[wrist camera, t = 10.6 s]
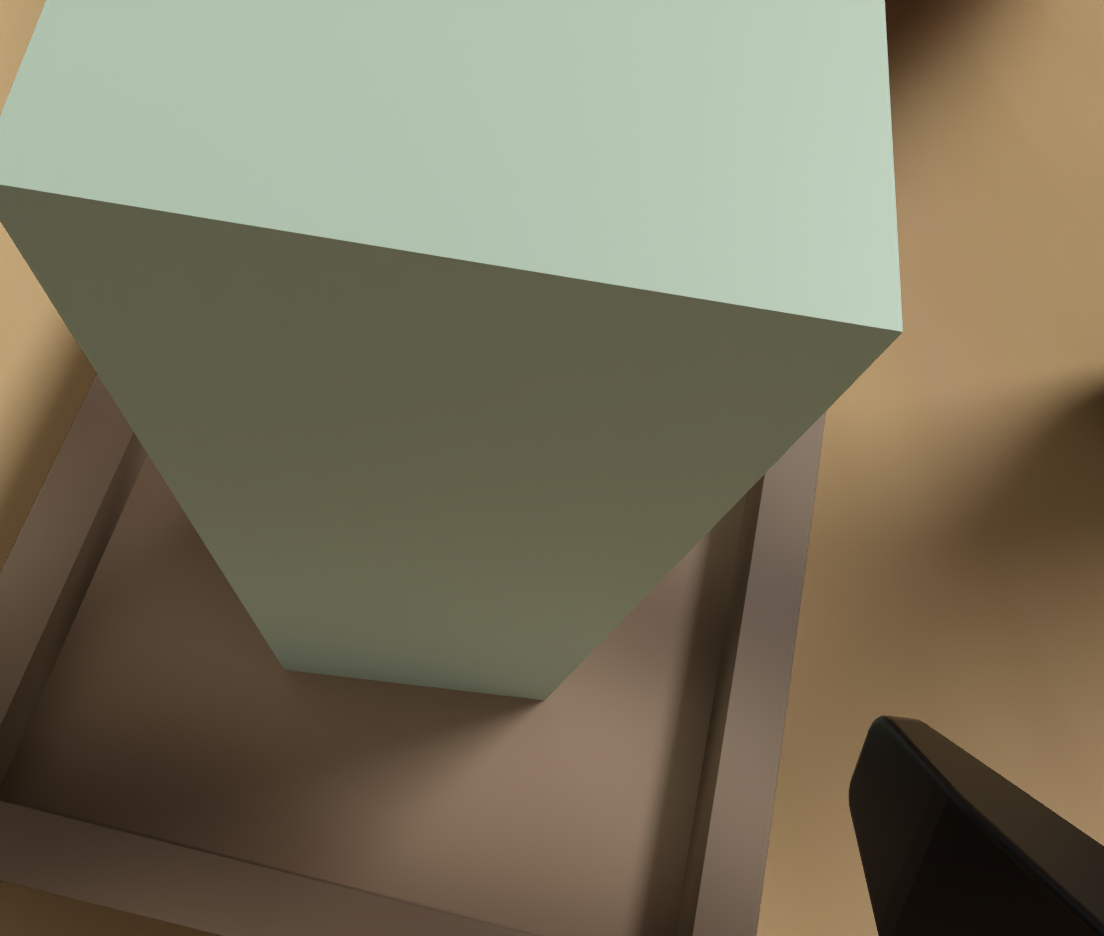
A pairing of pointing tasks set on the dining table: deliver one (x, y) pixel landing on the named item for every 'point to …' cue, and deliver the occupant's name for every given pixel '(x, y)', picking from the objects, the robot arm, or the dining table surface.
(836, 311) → the sage post
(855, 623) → the dining table surface
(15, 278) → the dining table surface
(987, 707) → the dining table surface
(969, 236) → the dining table surface
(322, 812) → the tray
